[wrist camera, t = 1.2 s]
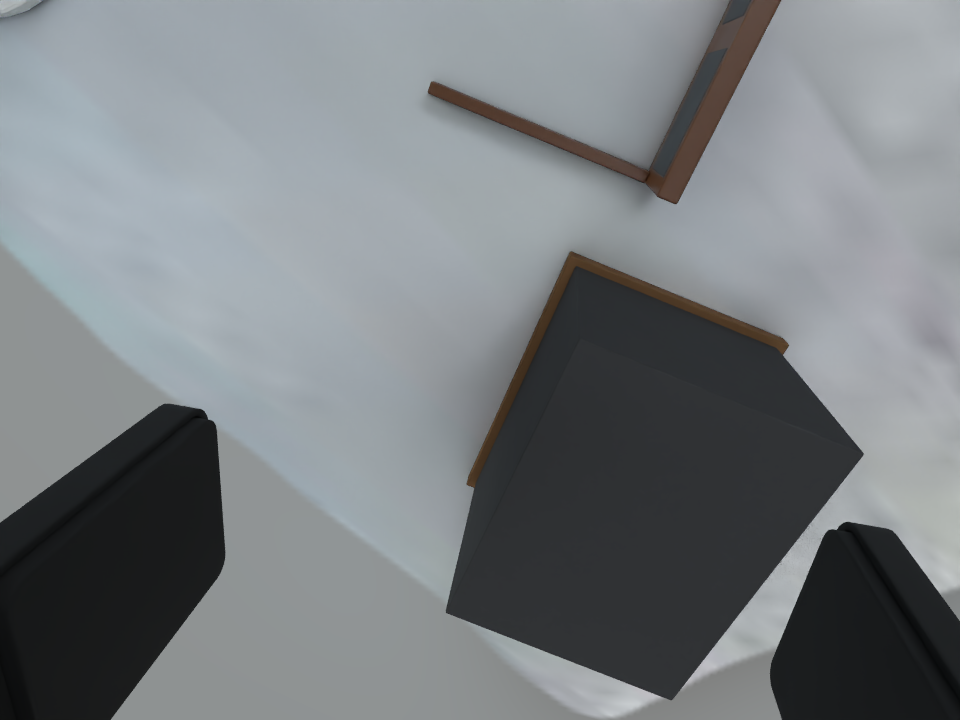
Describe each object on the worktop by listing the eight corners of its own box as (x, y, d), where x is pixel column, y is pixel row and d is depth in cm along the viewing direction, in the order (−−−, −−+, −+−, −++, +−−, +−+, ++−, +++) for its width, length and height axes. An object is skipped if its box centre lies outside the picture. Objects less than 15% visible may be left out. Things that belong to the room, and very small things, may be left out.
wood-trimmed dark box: (468, 476, 41) (432, 615, 30) (570, 250, 34) (571, 324, 23) (660, 552, 42) (694, 716, 31) (798, 344, 35) (904, 459, 24)
